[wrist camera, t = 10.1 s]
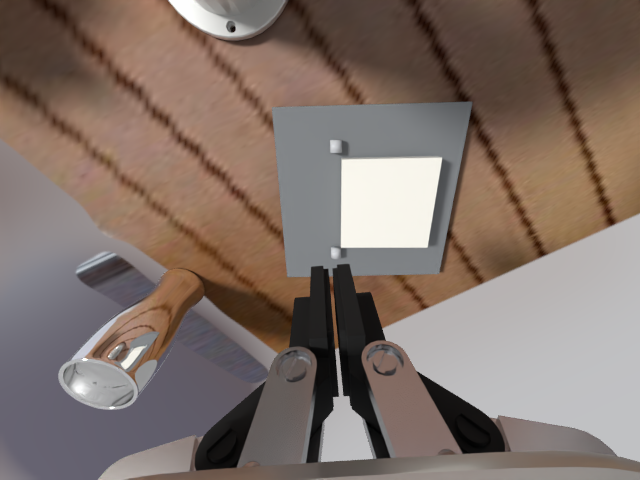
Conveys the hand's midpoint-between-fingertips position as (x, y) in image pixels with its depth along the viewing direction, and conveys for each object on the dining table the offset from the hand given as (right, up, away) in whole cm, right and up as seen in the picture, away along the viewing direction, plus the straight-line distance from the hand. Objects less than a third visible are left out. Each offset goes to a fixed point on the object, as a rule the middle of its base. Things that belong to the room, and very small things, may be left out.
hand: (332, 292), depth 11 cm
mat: (+5, +7, +19) cm, 21 cm away
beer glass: (-20, -4, +25) cm, 32 cm away
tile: (+2, +7, +18) cm, 20 cm away
